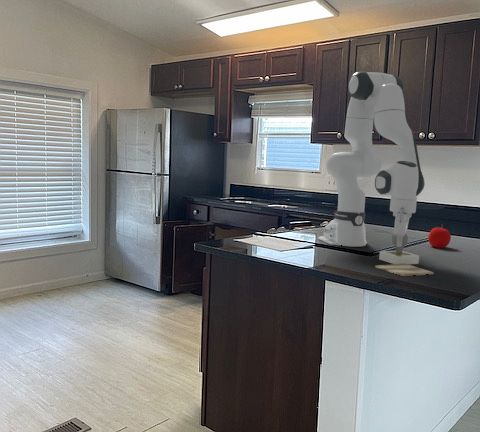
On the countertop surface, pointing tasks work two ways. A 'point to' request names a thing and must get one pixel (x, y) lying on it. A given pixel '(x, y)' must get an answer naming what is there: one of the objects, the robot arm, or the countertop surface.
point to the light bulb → (404, 242)
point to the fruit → (439, 237)
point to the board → (404, 269)
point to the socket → (399, 257)
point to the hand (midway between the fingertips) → (399, 245)
